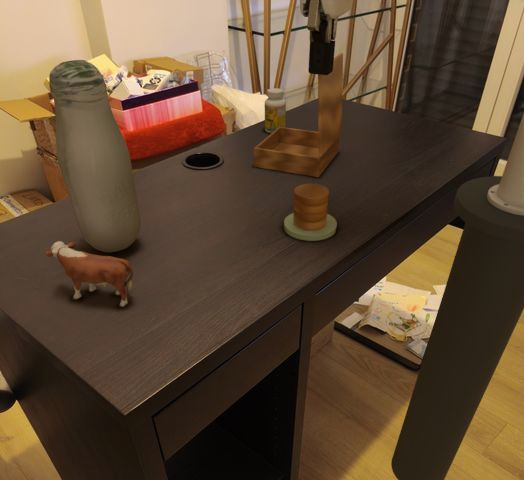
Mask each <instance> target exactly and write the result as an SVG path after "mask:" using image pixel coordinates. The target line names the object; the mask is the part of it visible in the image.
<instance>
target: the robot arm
mask: <svg viewBox="0 0 524 480" xmlns="http://www.w3.org/2000/svg"><path fill="white" fill-rule="evenodd" d="M353 5H354V0H299V10H300V11H299V12H300V13H301V15H302V16H303V17H304V18H307V24H306V29H307V30H308V31H309V54H308V73H309V74H312V75H318V74H319V75H329V74H330V73H331V72H332V71H333V63H334V58H335V49H336V37H337V30H338V20H339V17H341V16H343V15H345V14H346V13H348V12H349V11H350V10H351V9H352V8H353ZM501 176H502V178H501V181H500V184H498V185H495V186H493V187H491V188H490V189H489V191H488V193H487V199H488V201H489V202H490V203H491V204H492V205H493V206H495V207H496V208H498V209H500V210H502V211H505V212H508V213H511V214H515V215H521V216H524V113H523V114H522V117H521V120H520V123H519V126H518V129H517V131H516V135H515V137H514V141H513V143H512V146H511V149H510V152H509V154H508V157H507V161H506V163H505V166H504V169H503V172H502V175H501Z"/></svg>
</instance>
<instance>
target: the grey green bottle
mask: <svg viewBox="0 0 524 480" xmlns="http://www.w3.org/2000/svg"><path fill="white" fill-rule="evenodd" d="M48 81H49V82H48V84H49V91H50V94H51V96H52V100H53V105H54V106H53V107H54V114H55V115H54V116H55V145H56V146H55V147H56V157H57V162H58V165H59V168H60V172H61V175H62V178H63V183H64V184H65V188H66V192H67V195H68V198H69V201H70V204H71V207H72V210H73V213H74V217H75V220H76V223H77V226H78V228H79V231H80V233H81V235H82V237H83V239H84V240H85V241H86V243H87V244H88V245H89V246H91V247H92V248H94V249H95V250H97V251H99V252H103V253H116V252H121V251H122V250H125V249H127V248H129V247H130V246H131V245H133V244H134V242H135V241H136V240H137V238H138V236H139V234H140V230H141V223H142V222H141V213H140V207H139V202H138V197H137V196H138V195H137V192H136V185H135V184H136V183H135V179H134V172H133V167H132V160H131V155H130V152H129V148H128V146H127V143H126V140H125V138H124V136H123V133H122V131H121V128H120V126H119V124H118V121H117V120H116V118H115V115H114V114H113V110H112V107H111V104H110V100H109V95H108V89H107V84H106V81H105V79H104V76H103V75H102V73H101V71H100V70H99V68H98V67H97V66H96V65H94V64H93V63H92V62H89V61H87V60H85V59H74V60H66V61H62V62H60V63H59V64H57V65H56V66H54V67H53V68H52V70H51V71H50V73H49V76H48Z"/></svg>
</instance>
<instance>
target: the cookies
mask: <svg viewBox="0 0 524 480" xmlns="http://www.w3.org/2000/svg"><path fill="white" fill-rule="evenodd" d="M329 196H330V190H329V188H328V187H326V186H325V185H323V184H318V183H303V184H300V185H297V186H296V187H295V188H294V190H293V209H292V210H293V212H292V213H293V224H294V225H295V226H296V227H297V228H300V229H303V230H318V229H321V228H323V227H324V226H325V225H326V220H327V214H328V209H329V208H328V207H329Z"/></svg>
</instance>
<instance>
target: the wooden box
mask: <svg viewBox="0 0 524 480" xmlns="http://www.w3.org/2000/svg"><path fill="white" fill-rule="evenodd" d="M340 139H341V134H340V135H339V137H338V138H337V139H336V140H335V141H334V142H333V144H332V145H331V146H330V147H329V148H328V149H327V151H326V152H325V153H324V154H323V155H322V156H321V157H319V138H318V131H314V130H307V129H299V128H292V127H286V126H285V127H278V128H277V129H276V130H275V131H274V132H272V133H269V134H268V135H267V136H266V137H265V138H264V139H262V141H261V142H259V143H258V144H257V145H256V146H255V147H254V148H253V167H254V168H260V169H264V170H265V169H266V170H272V171H277V172H278V171H279V172H284V173H290V174H295V175H301V176H309V177H314V178H319V177H320V176H321V175H322V174H323V172H324V171H325V170H326V169H327V167H328V166H329V165H330V164H331V162H332V161H333V160H334V159H335V157H336V156H337V155H338V154H339V150H340Z"/></svg>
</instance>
